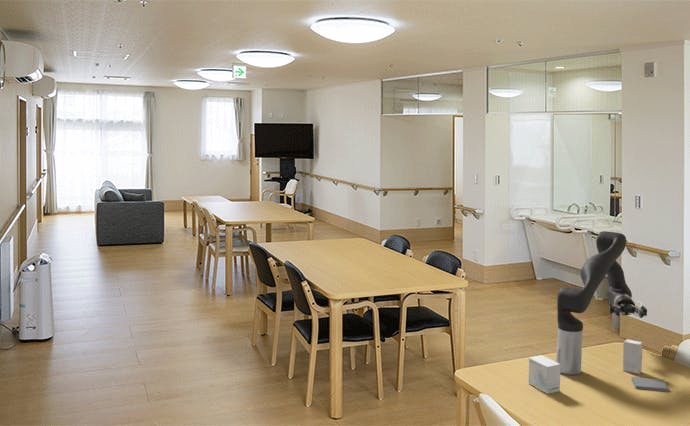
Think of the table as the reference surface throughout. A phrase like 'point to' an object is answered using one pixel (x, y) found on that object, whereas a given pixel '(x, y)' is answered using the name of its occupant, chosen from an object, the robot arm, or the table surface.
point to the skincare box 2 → (632, 356)
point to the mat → (649, 384)
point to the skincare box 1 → (544, 374)
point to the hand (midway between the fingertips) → (630, 314)
